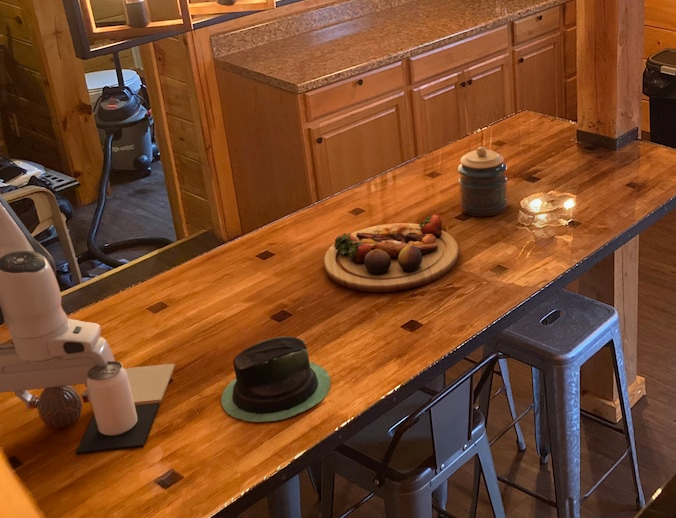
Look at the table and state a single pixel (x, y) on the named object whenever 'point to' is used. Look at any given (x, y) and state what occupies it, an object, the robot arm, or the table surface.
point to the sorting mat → (147, 399)
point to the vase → (59, 406)
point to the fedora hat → (274, 381)
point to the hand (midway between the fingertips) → (61, 403)
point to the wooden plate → (391, 256)
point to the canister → (483, 183)
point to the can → (111, 398)
